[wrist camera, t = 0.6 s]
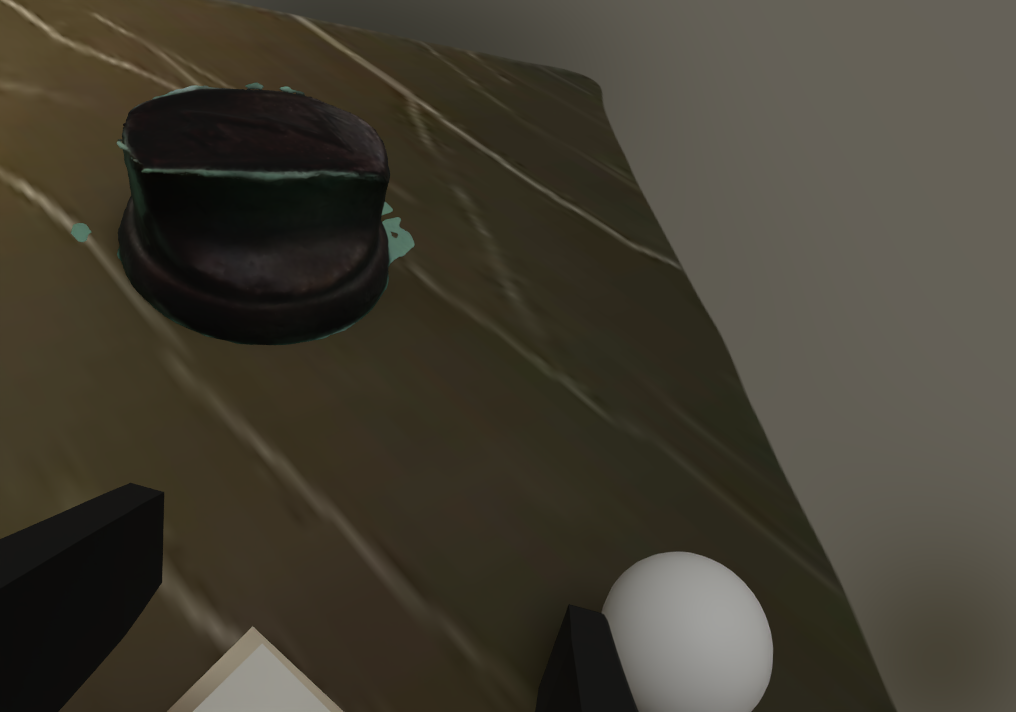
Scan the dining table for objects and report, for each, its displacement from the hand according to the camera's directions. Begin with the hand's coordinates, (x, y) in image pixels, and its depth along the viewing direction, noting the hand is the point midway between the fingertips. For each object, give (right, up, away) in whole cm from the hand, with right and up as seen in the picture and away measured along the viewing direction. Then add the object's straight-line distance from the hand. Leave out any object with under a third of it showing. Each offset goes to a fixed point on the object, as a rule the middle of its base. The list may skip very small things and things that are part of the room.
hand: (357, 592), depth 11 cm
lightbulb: (+7, -11, +18) cm, 22 cm away
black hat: (-13, +11, +29) cm, 34 cm away
